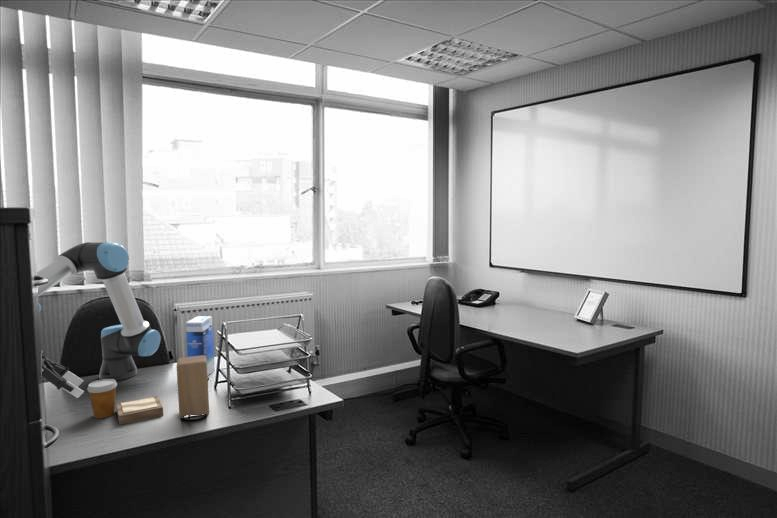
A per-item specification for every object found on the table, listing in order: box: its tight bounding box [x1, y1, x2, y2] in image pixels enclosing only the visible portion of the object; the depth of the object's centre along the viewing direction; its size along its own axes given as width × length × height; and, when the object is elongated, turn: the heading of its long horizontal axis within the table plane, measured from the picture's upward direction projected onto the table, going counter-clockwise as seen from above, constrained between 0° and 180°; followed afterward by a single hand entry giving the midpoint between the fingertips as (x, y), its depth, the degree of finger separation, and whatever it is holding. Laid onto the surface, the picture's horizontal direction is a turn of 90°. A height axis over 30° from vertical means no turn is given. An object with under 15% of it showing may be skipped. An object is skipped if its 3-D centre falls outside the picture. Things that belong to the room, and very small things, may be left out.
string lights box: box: [185, 315, 216, 377], centre depth 225 cm, size 13×8×26 cm, turn 0°
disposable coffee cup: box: [86, 379, 118, 419], centre depth 181 cm, size 10×10×12 cm
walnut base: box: [115, 395, 164, 425], centre depth 182 cm, size 14×14×3 cm
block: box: [176, 355, 210, 419], centre depth 181 cm, size 10×10×20 cm
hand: (80, 389), depth 177 cm, fingers open, 13 cm apart
